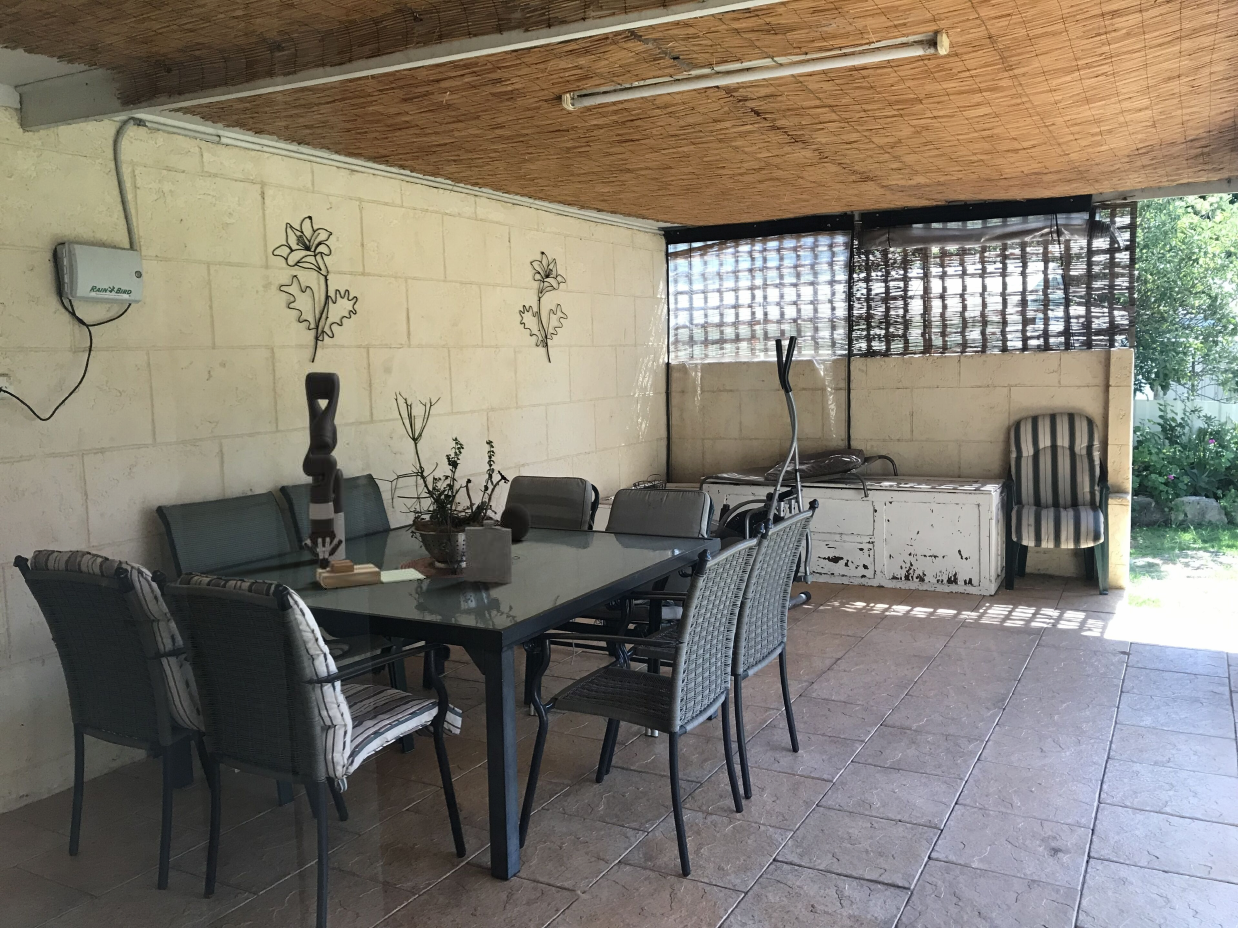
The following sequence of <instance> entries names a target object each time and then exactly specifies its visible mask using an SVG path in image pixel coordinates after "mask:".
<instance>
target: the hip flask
mask: <svg viewBox="0 0 1238 928" xmlns="http://www.w3.org/2000/svg"><path fill="white" fill-rule="evenodd" d="M482 524H483V527H482V526H481V527H480V526H479V527H477V526H476V527H475V526H468V527H467V526H466V527H465V528H464V538H465V540H464V542H465V543H464V545H465V546H464V548H465V549H464V550H465V554H464V555H465V581H466V582H474V581H481V582H483V583H495V582H497V584H498V583H499V584H505V583H508V584H511V583H512V582H513V571H512V570H513V566H512V565H513V564H512V563H513V562H512V561H513V559H512V554H513V553H512V540H511V529H505V528H501V527H500V526H495V525H494V524H495V521H494V520H483V521H482ZM481 582H480V583H481Z"/></svg>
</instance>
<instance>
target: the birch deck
mask: <svg viewBox="0 0 1238 928" xmlns="http://www.w3.org/2000/svg"><path fill="white" fill-rule="evenodd" d="M315 572H316V573H315V574H316V581H317V580H318V581H319V582H320V583H321V585H322V586H323V587H324V588H327V589H335V588H336V587H337V588H345V587H354V586H361V585H362V586H363V585H364V584H365V585H373V584H381V583H382V582H381V572H382V571H381V570H380V569H379V568H378V567H377V566H375V565H374V564H372V563H364V564H354V572H347V573H337V574H335V573H334V572H333V571H332V570H331V569H330V567H328V568H327V569H326V570H321V568H316V571H315ZM321 585H320V586H321ZM322 586H321V587H322ZM323 587H322V588H323ZM324 588H323V589H324Z"/></svg>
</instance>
